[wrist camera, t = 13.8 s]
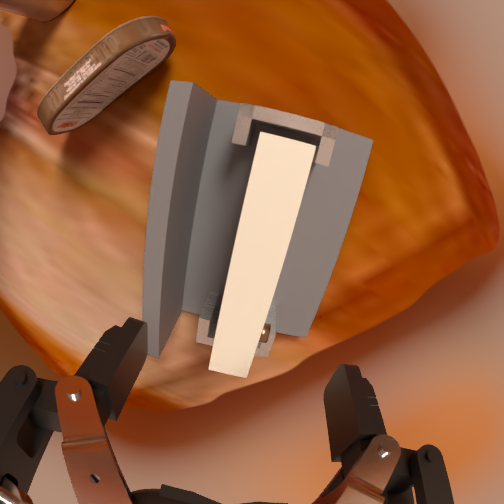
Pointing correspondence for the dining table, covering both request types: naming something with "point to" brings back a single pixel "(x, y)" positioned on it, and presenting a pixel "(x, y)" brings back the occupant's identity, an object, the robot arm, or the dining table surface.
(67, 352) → the dining table surface
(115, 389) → the robot arm
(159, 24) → the tin
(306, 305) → the hinge bracket
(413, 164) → the dining table surface
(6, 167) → the dining table surface
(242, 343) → the door
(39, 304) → the dining table surface
